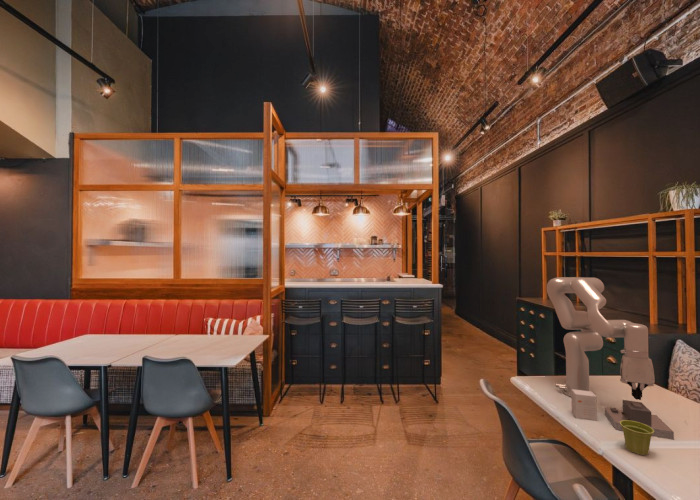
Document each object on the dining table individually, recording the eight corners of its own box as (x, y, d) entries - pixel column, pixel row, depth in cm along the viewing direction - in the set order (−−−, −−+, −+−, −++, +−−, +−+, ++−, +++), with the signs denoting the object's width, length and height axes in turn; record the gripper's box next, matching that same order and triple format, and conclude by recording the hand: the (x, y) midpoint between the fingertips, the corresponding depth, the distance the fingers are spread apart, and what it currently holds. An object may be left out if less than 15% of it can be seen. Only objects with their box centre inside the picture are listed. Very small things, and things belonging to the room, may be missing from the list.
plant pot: (613, 443, 123) (613, 420, 123) (636, 442, 124) (636, 419, 124) (637, 459, 114) (637, 434, 114) (661, 457, 115) (661, 432, 115)
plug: (631, 428, 132) (631, 407, 133) (622, 418, 141) (622, 398, 141) (651, 432, 130) (651, 410, 130) (641, 421, 138) (641, 400, 139)
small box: (592, 415, 145) (592, 391, 145) (597, 421, 139) (597, 396, 139) (571, 412, 147) (571, 388, 147) (575, 418, 142) (575, 393, 142)
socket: (615, 429, 132) (615, 420, 132) (604, 414, 145) (604, 406, 145) (673, 439, 126) (673, 430, 126) (656, 422, 138) (656, 413, 138)
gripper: (617, 354, 135) (617, 399, 135) (664, 358, 129) (664, 405, 129) (610, 349, 142) (611, 392, 142) (655, 353, 136) (655, 397, 136)
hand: (636, 398), depth 135 cm, fingers closed
